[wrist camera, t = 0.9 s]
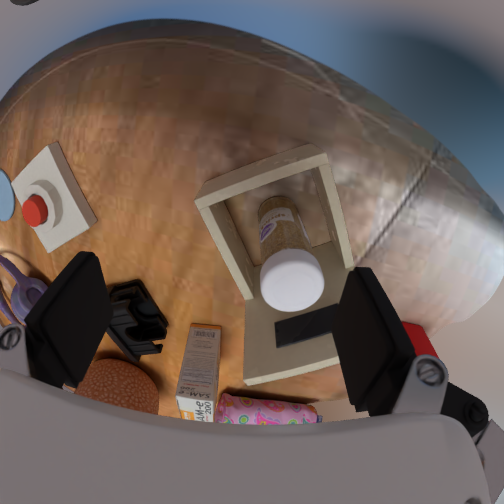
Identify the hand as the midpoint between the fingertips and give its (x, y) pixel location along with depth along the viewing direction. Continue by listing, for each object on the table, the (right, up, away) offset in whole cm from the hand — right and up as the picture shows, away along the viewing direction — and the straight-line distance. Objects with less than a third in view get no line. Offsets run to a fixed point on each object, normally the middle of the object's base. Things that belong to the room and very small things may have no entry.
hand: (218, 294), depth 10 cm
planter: (-25, -23, +38) cm, 51 cm away
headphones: (-42, -6, +28) cm, 51 cm away
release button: (-25, +7, +16) cm, 31 cm away
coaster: (-39, +11, +18) cm, 44 cm away
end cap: (-16, -7, +28) cm, 33 cm away
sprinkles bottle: (+4, +6, +21) cm, 22 cm away
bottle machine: (+4, +6, +21) cm, 22 cm away
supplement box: (-6, -12, +31) cm, 34 cm away
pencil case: (+4, -30, +42) cm, 52 cm away
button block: (-25, +9, +19) cm, 33 cm away
